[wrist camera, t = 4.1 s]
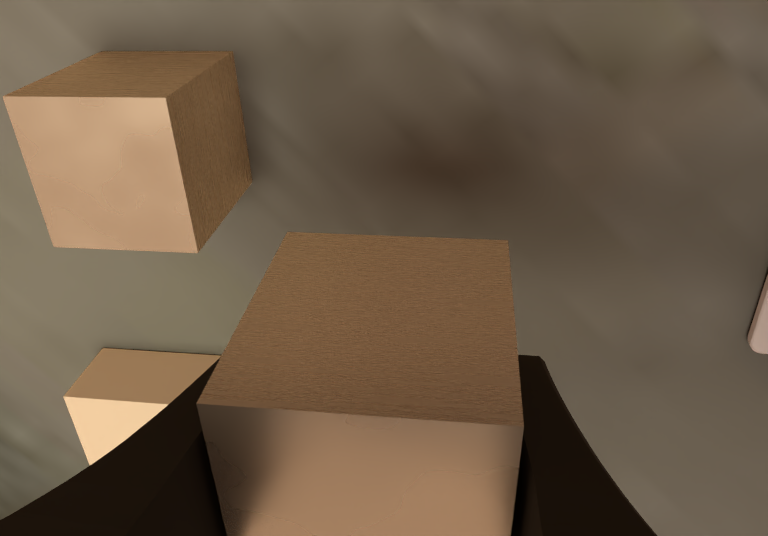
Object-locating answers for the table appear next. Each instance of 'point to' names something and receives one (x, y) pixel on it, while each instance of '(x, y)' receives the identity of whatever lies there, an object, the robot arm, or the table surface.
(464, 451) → the tan brown block
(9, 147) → the table surface
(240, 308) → the table surface
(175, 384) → the scale housing
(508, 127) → the table surface
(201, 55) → the tan brown block
